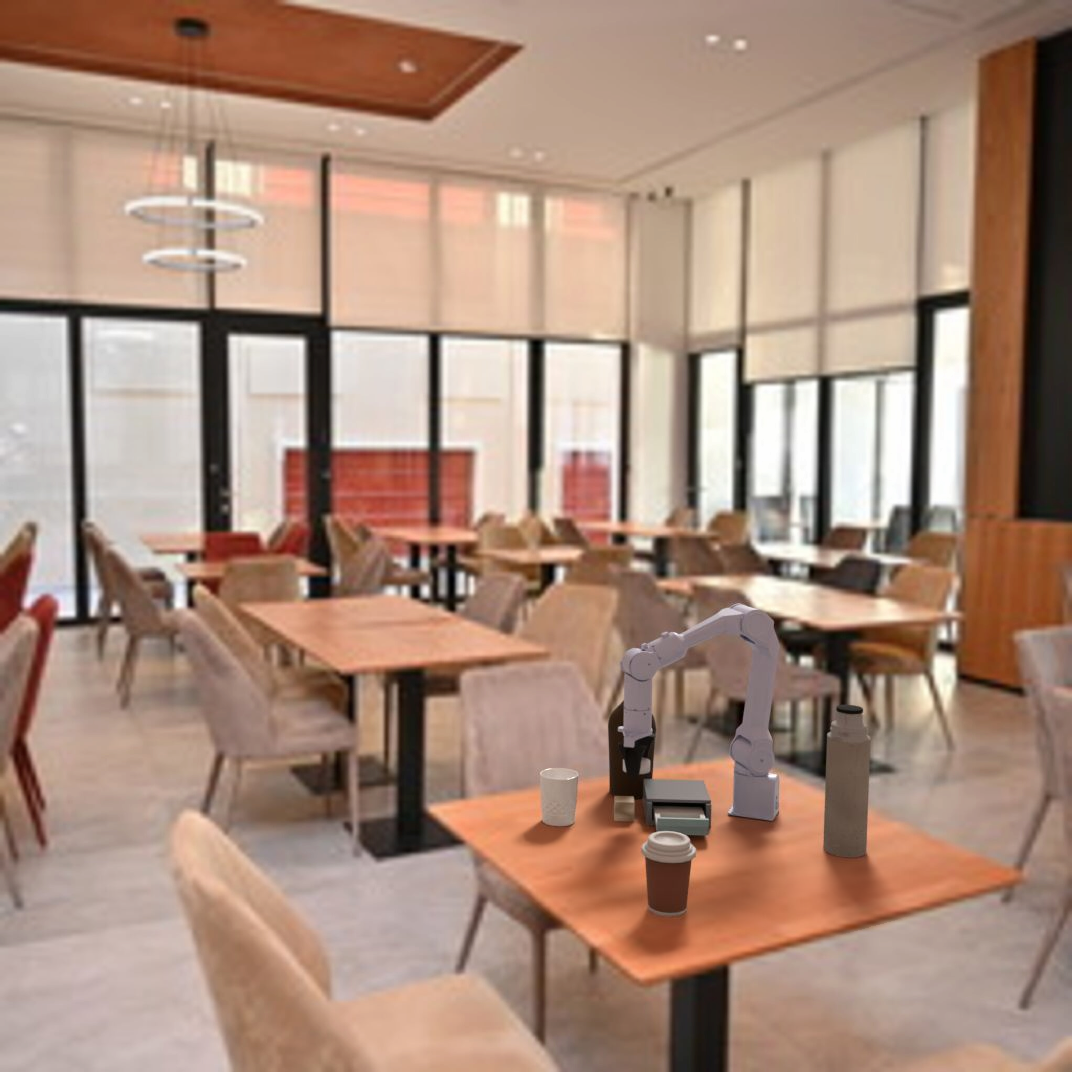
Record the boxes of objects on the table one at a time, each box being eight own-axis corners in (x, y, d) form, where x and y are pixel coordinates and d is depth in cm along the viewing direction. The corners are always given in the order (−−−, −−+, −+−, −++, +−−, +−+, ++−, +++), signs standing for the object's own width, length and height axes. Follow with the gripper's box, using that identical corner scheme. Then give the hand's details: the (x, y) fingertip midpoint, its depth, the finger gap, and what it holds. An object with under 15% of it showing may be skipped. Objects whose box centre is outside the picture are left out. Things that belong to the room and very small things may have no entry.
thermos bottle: (835, 839, 211) (840, 699, 208) (873, 849, 205) (879, 706, 203) (815, 849, 205) (820, 706, 203) (854, 861, 199) (859, 713, 197)
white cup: (578, 828, 215) (578, 779, 214) (538, 827, 215) (539, 778, 214) (577, 815, 223) (578, 768, 222) (539, 814, 223) (540, 767, 222)
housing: (702, 803, 231) (703, 780, 231) (710, 827, 217) (711, 802, 216) (642, 802, 232) (643, 778, 231) (646, 825, 217) (647, 800, 217)
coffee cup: (705, 908, 177) (707, 838, 176) (672, 925, 171) (674, 852, 170) (662, 892, 184) (663, 824, 183) (628, 908, 177) (630, 837, 176)
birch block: (633, 815, 223) (633, 796, 223) (633, 821, 219) (634, 802, 219) (613, 814, 223) (614, 795, 223) (614, 820, 219) (614, 801, 219)
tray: (701, 814, 220) (702, 800, 220) (708, 835, 208) (708, 819, 208) (653, 813, 220) (653, 798, 220) (657, 833, 209) (657, 818, 208)
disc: (655, 769, 219) (655, 760, 219) (640, 775, 215) (640, 766, 215) (632, 764, 223) (632, 755, 223) (617, 770, 218) (617, 760, 218)
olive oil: (625, 803, 231) (627, 689, 229) (597, 789, 240) (599, 680, 238) (664, 795, 236) (666, 684, 234) (635, 782, 245) (637, 675, 243)
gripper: (627, 698, 226) (626, 761, 227) (609, 714, 212) (608, 780, 213) (660, 701, 224) (659, 764, 225) (644, 717, 210) (642, 784, 211)
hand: (636, 773), depth 219 cm, fingers closed on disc, 6 cm apart
